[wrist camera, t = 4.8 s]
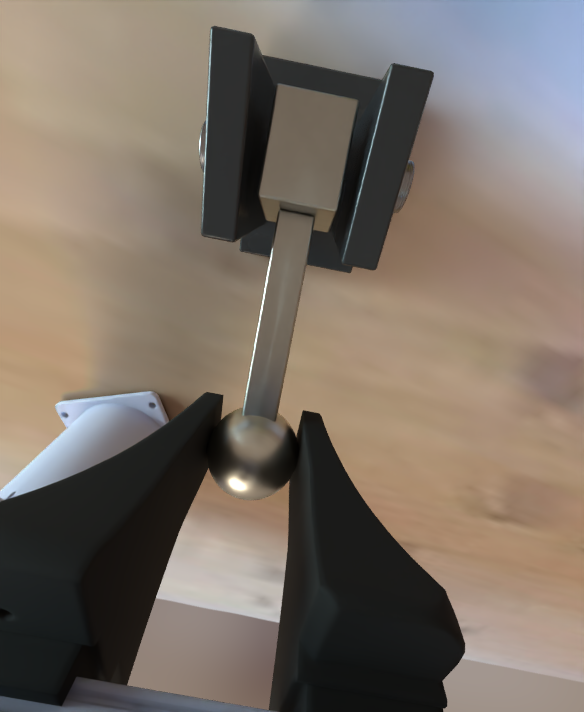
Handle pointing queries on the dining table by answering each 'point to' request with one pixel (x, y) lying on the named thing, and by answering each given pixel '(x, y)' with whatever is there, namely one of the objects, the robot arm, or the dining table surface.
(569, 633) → the dining table surface
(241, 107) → the dark grey lever bracket
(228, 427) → the tap lever
